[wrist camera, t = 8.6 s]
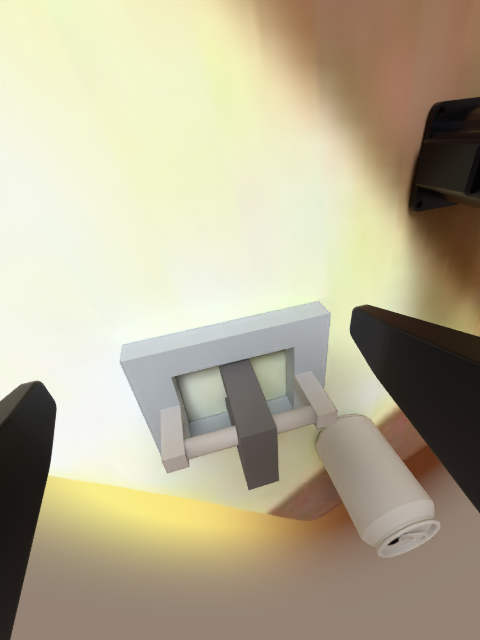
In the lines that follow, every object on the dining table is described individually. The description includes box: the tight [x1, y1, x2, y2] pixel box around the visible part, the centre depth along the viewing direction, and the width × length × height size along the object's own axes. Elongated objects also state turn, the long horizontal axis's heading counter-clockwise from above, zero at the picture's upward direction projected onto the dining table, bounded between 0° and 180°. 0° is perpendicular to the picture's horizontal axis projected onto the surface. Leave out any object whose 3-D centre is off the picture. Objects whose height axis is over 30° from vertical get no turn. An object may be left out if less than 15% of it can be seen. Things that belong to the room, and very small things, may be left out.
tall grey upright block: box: [219, 358, 279, 490], centre depth 23 cm, size 2×7×8 cm, turn 6°
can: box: [316, 414, 440, 558], centre depth 31 cm, size 8×8×12 cm
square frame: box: [120, 301, 338, 473], centre depth 24 cm, size 16×13×6 cm
